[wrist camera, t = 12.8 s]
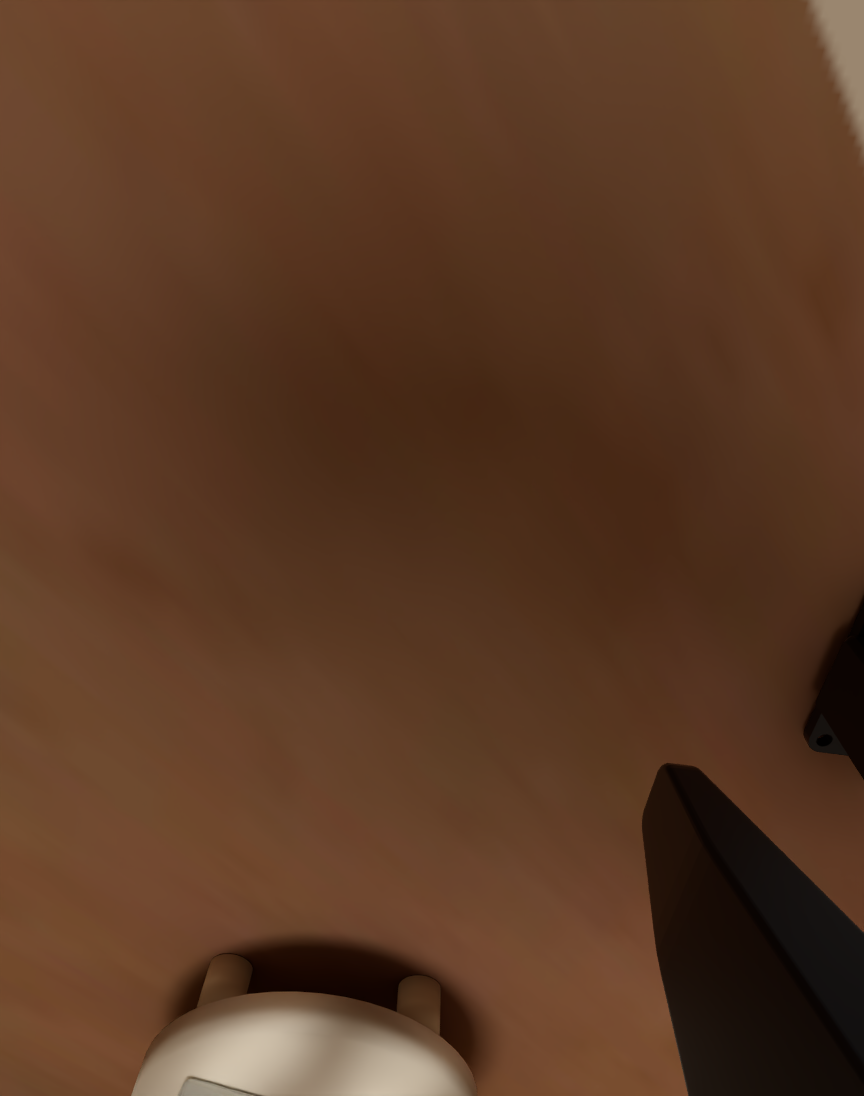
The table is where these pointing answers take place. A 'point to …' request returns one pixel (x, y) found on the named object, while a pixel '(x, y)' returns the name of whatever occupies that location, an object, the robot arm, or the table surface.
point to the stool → (305, 1043)
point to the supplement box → (207, 1089)
